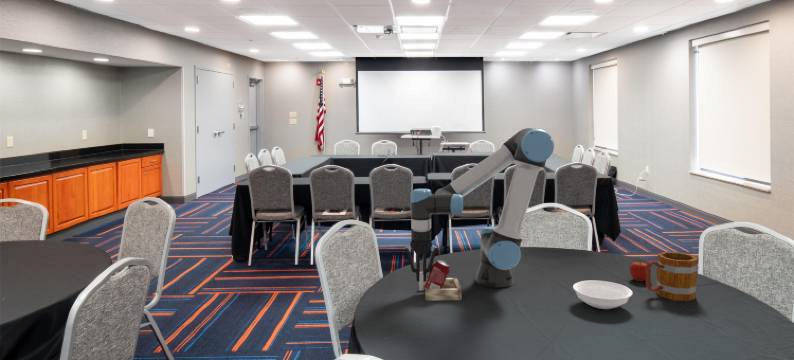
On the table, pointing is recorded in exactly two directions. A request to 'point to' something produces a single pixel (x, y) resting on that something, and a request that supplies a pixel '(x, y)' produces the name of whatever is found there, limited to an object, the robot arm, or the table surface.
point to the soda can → (437, 275)
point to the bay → (445, 291)
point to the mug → (674, 276)
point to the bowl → (602, 293)
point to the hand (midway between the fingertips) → (421, 289)
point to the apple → (638, 271)
